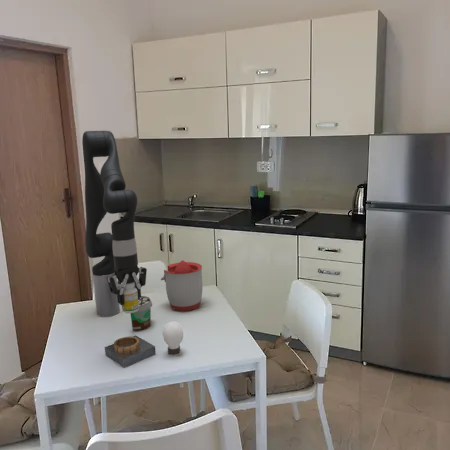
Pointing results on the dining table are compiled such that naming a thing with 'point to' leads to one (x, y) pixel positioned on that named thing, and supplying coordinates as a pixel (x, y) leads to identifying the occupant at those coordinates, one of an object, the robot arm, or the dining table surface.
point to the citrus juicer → (184, 285)
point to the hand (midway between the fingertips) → (129, 301)
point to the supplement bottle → (130, 298)
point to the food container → (142, 315)
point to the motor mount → (129, 350)
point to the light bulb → (173, 337)
